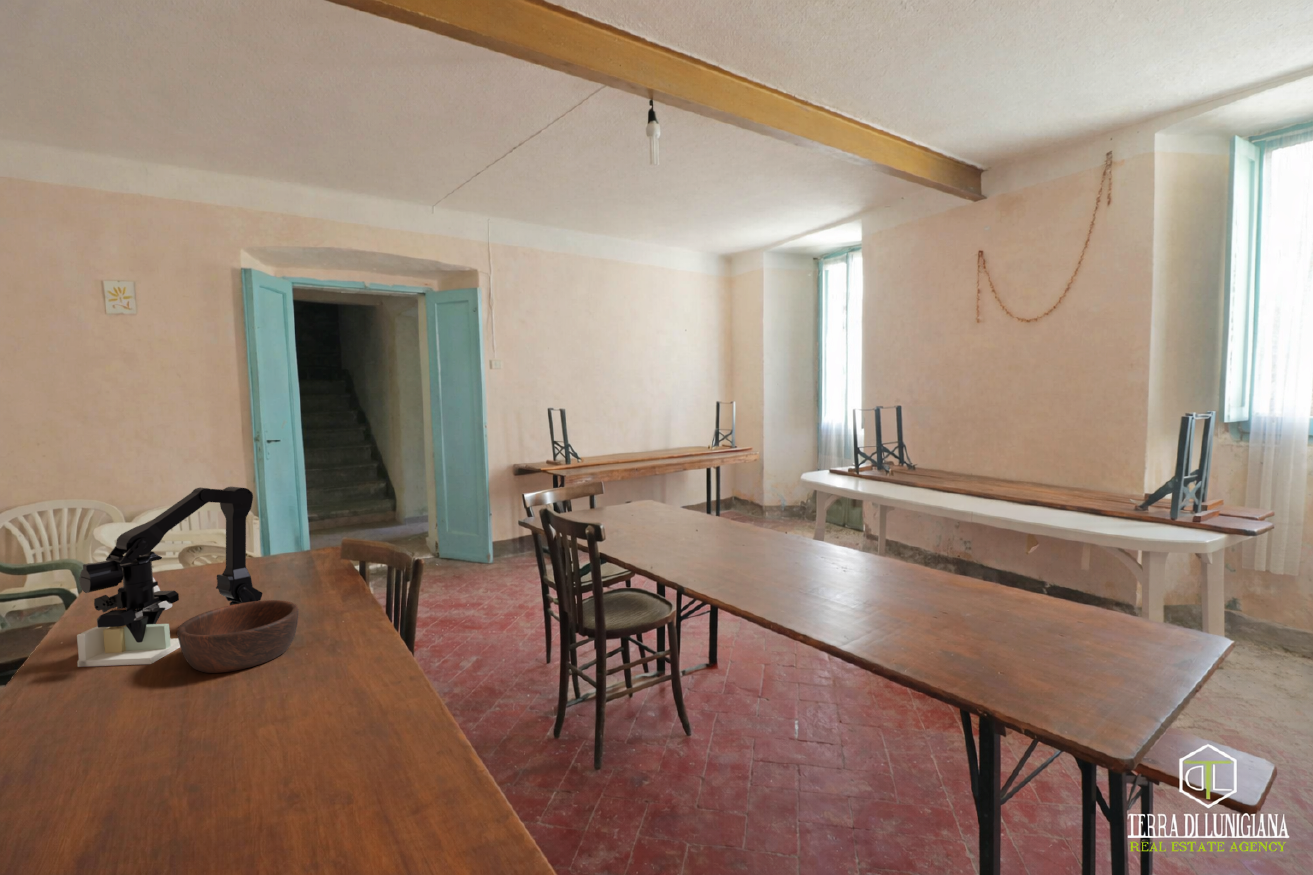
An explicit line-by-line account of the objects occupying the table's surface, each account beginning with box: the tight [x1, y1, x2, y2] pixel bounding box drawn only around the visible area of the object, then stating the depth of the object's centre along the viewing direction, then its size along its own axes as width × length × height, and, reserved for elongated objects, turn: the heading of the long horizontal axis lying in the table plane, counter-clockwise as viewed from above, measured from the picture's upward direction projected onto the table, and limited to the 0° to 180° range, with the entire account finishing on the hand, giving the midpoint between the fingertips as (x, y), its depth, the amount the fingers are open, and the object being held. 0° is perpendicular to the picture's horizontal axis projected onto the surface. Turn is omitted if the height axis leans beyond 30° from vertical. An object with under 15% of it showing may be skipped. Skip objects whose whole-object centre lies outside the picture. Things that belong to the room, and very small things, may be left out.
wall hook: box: [153, 576, 173, 611], centre depth 183 cm, size 9×10×10 cm
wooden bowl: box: [176, 599, 300, 674], centre depth 149 cm, size 25×25×10 cm
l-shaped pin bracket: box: [76, 625, 181, 668], centre depth 150 cm, size 17×12×8 cm
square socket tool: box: [103, 623, 171, 653], centre depth 150 cm, size 14×4×6 cm, turn 94°
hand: (142, 640), depth 150 cm, fingers closed
